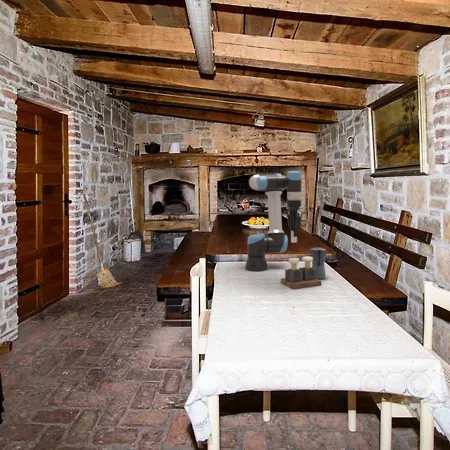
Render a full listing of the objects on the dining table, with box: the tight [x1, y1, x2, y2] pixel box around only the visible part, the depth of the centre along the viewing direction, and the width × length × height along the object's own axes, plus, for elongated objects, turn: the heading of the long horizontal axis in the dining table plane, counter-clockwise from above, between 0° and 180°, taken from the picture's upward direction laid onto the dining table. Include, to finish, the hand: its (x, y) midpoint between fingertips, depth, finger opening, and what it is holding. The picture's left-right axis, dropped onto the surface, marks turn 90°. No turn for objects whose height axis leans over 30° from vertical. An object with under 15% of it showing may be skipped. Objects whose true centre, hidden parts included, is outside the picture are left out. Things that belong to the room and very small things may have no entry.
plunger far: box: [302, 255, 313, 270], centre depth 193 cm, size 6×6×8 cm
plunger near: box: [288, 257, 300, 272], centre depth 189 cm, size 6×6×8 cm
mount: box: [280, 266, 323, 290], centre depth 192 cm, size 14×18×8 cm
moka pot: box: [309, 244, 327, 280], centre depth 204 cm, size 10×15×20 cm, turn 174°
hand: (294, 242), depth 188 cm, fingers closed
